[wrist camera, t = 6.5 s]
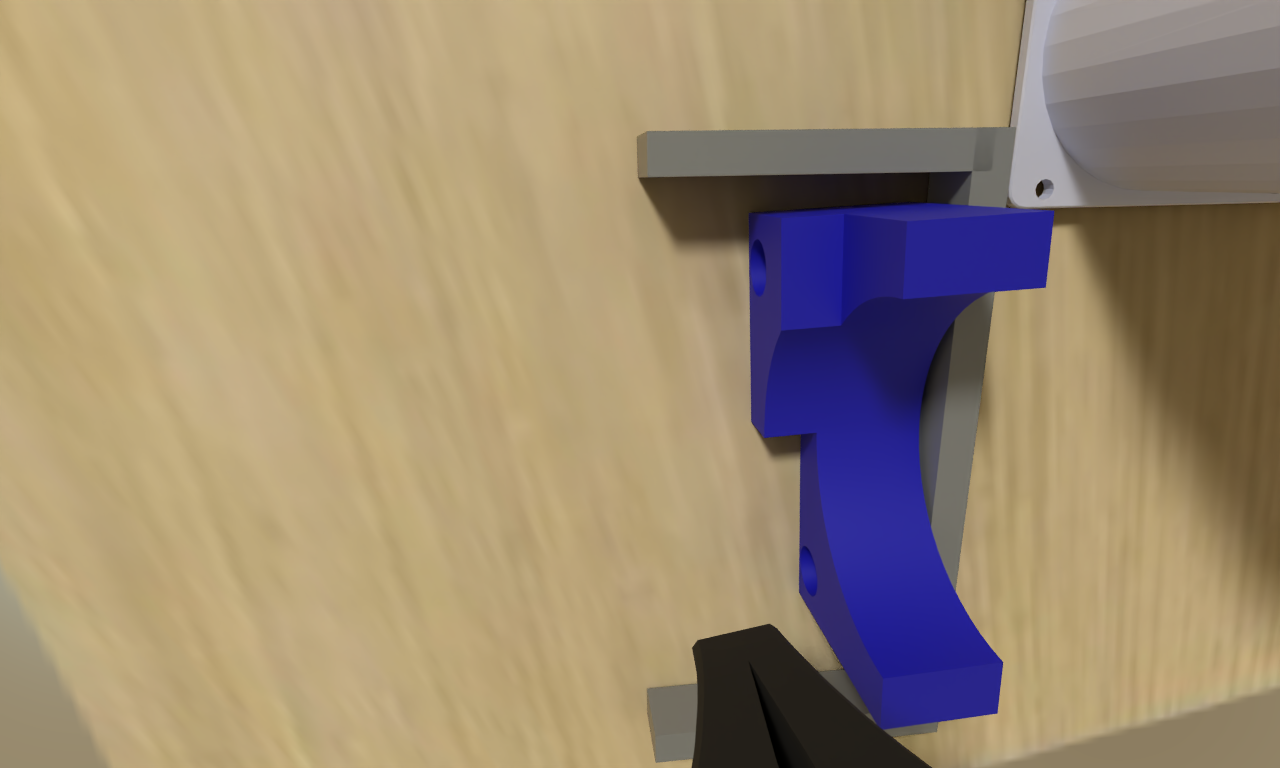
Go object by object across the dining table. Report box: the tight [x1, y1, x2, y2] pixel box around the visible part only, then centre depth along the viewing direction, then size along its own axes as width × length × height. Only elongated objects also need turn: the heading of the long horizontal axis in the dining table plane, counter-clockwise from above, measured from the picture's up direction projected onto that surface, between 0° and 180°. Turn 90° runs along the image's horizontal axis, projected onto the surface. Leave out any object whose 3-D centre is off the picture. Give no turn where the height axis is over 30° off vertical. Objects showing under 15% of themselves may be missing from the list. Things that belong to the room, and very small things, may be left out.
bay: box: [637, 127, 1016, 763], centre depth 20 cm, size 9×18×2 cm, turn 1°
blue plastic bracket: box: [749, 202, 1054, 730], centre depth 18 cm, size 12×4×6 cm, turn 4°
